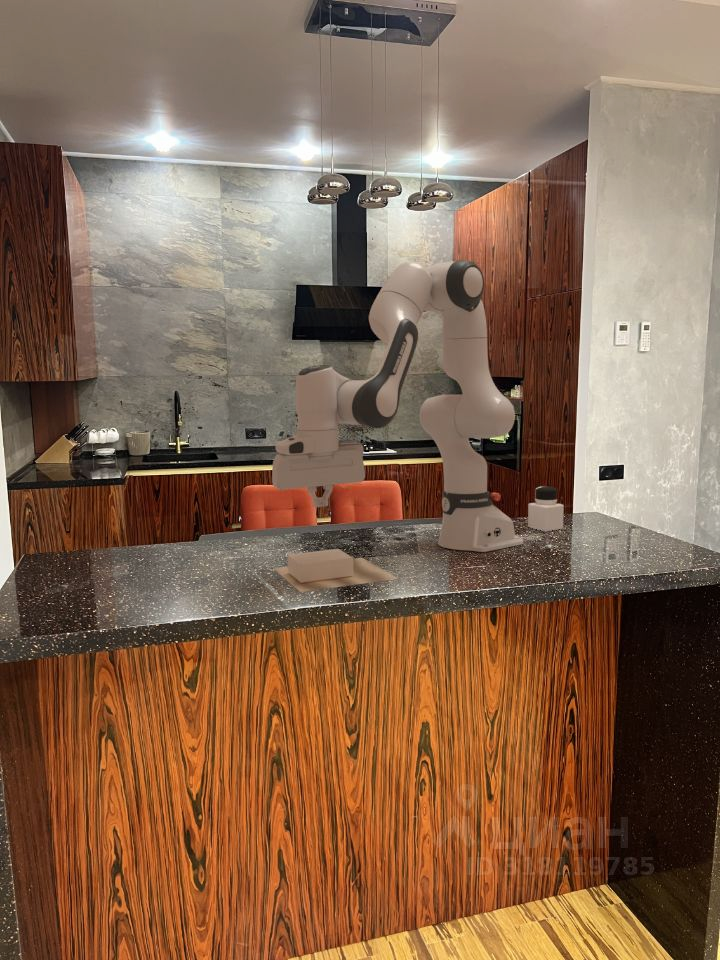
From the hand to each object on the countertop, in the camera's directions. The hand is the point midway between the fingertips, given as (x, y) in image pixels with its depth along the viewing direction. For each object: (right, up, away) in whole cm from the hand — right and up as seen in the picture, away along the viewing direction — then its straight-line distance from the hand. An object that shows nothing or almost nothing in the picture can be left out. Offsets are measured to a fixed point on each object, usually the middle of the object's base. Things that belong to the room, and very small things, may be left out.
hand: (320, 506), depth 152 cm
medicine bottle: (+62, -9, +50) cm, 80 cm away
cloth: (+3, -16, +3) cm, 16 cm away
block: (+5, -13, +4) cm, 14 cm away
